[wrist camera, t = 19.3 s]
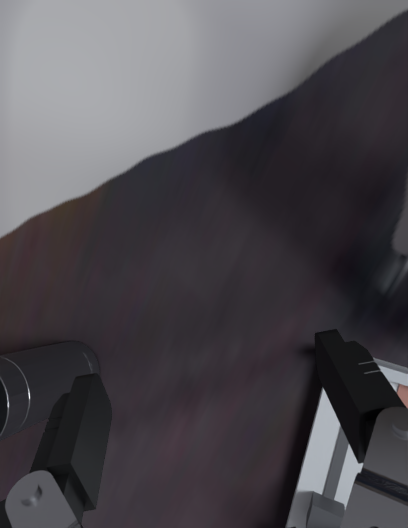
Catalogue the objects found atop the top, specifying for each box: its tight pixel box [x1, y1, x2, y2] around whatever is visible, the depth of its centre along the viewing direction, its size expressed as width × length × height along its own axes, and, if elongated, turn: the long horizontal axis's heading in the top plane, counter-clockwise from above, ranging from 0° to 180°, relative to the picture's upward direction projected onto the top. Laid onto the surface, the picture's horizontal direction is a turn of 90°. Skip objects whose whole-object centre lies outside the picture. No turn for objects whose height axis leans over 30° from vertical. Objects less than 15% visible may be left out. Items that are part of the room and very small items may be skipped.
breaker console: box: [285, 358, 408, 528], centre depth 41 cm, size 24×20×6 cm
